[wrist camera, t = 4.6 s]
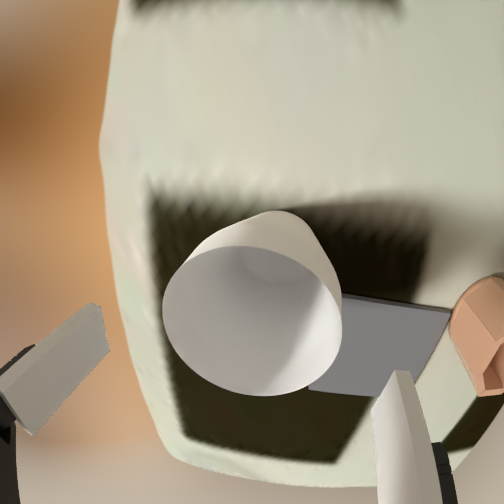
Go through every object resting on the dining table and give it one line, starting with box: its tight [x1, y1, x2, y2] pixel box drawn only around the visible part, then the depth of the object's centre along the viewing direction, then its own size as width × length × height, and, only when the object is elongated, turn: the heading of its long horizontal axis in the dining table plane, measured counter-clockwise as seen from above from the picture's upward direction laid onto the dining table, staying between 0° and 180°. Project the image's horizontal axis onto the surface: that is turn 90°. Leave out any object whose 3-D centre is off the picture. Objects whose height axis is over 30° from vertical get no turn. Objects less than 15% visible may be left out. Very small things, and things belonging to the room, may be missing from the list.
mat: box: [309, 293, 451, 397], centre depth 25 cm, size 12×12×1 cm
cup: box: [162, 211, 342, 396], centre depth 18 cm, size 9×9×12 cm
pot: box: [448, 276, 504, 397], centre depth 18 cm, size 9×9×8 cm
